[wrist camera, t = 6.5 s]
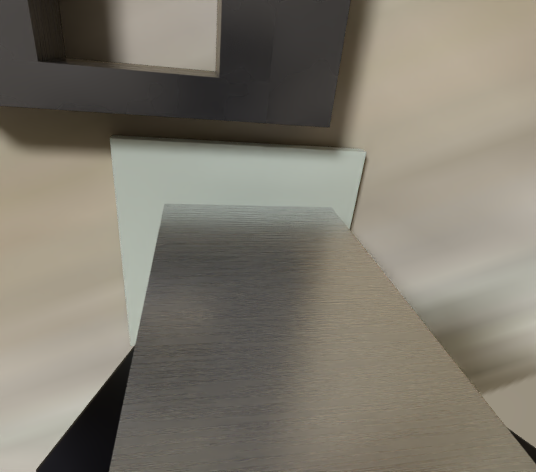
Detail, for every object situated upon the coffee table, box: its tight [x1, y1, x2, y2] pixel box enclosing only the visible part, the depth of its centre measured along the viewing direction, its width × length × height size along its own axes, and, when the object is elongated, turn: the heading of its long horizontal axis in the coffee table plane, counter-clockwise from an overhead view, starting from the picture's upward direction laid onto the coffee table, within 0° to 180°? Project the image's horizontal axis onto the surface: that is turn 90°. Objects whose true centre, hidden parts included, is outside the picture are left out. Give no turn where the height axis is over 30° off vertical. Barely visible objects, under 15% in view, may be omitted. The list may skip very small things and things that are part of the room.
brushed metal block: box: [109, 204, 536, 472], centre depth 9 cm, size 5×5×8 cm
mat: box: [110, 135, 366, 346], centre depth 13 cm, size 8×8×1 cm
